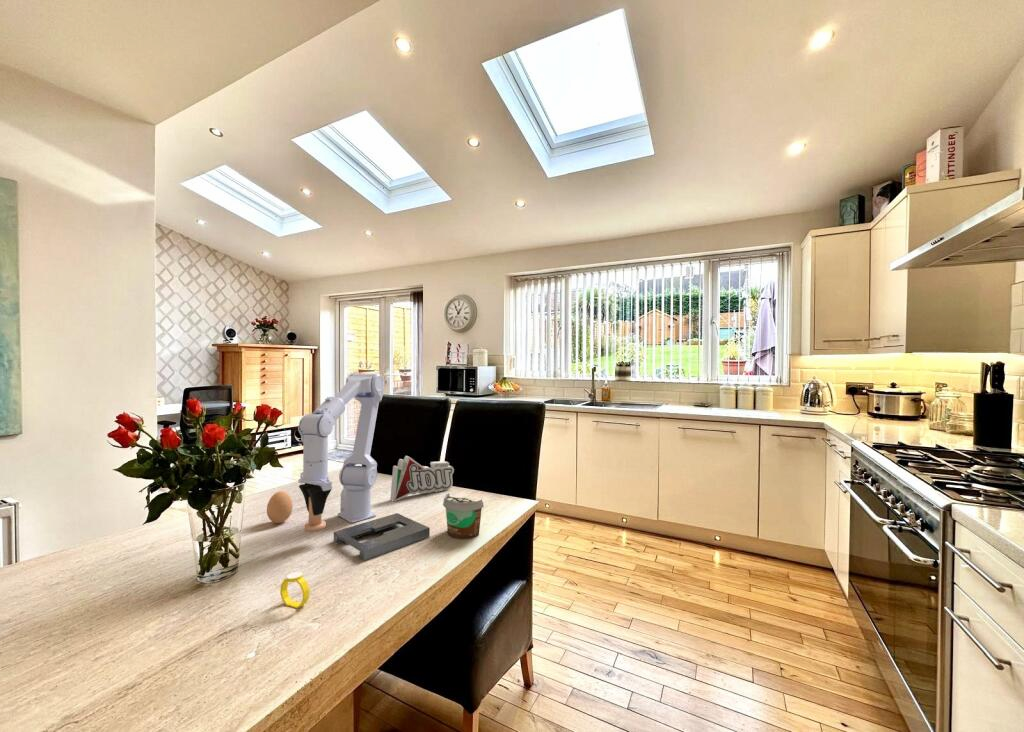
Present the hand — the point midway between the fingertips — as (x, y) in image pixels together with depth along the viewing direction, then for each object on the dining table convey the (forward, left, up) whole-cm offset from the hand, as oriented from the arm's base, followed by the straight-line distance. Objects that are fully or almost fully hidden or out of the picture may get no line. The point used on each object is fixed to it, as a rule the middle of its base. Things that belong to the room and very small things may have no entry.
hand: (315, 512), depth 106 cm
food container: (+23, +29, -8) cm, 38 cm away
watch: (+25, -14, -8) cm, 30 cm away
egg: (-22, -1, -8) cm, 24 cm away
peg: (0, 0, -4) cm, 4 cm away
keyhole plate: (+10, +14, -8) cm, 19 cm away
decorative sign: (-14, +44, -8) cm, 47 cm away
